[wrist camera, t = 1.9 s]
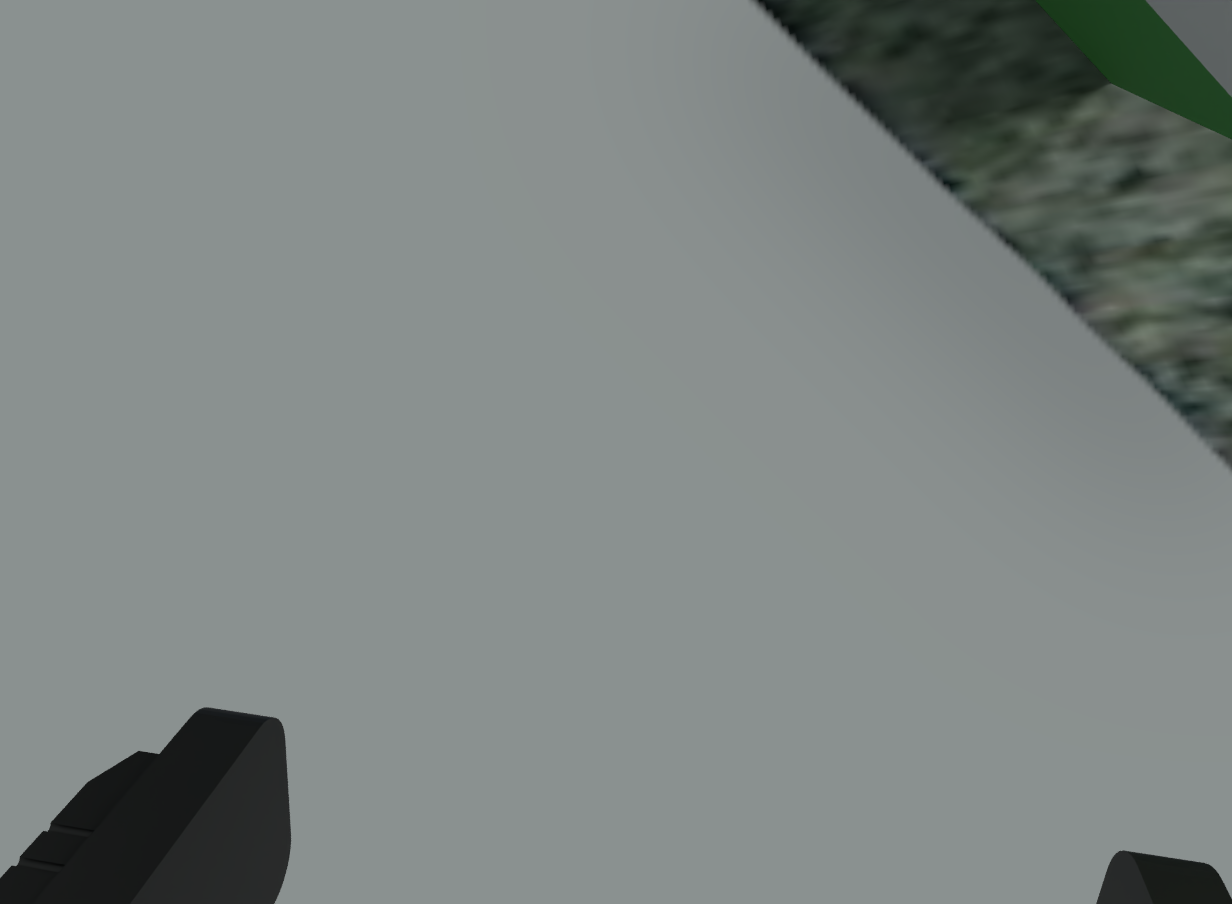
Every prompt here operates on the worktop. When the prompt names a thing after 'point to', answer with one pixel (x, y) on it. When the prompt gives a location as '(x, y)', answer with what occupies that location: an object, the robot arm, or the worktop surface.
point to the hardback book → (1159, 51)
